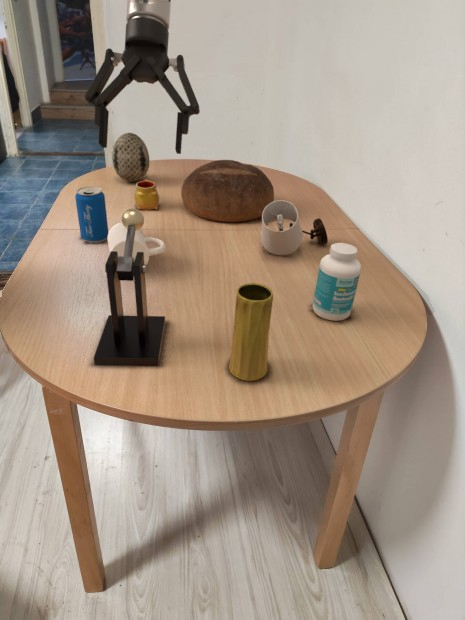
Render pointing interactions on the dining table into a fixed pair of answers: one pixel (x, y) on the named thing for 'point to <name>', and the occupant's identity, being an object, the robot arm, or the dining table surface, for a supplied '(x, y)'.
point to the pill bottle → (337, 282)
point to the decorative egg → (130, 157)
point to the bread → (227, 191)
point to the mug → (119, 239)
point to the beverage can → (92, 214)
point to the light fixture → (289, 238)
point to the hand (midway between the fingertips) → (140, 148)
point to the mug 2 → (146, 195)
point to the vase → (251, 331)
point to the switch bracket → (129, 322)
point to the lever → (129, 243)
